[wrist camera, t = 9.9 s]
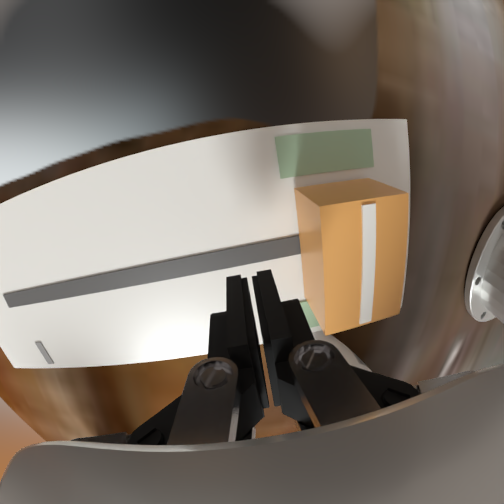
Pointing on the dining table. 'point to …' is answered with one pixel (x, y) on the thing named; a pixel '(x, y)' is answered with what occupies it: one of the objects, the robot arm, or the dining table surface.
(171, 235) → the console board
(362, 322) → the fader knob
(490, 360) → the dining table surface
